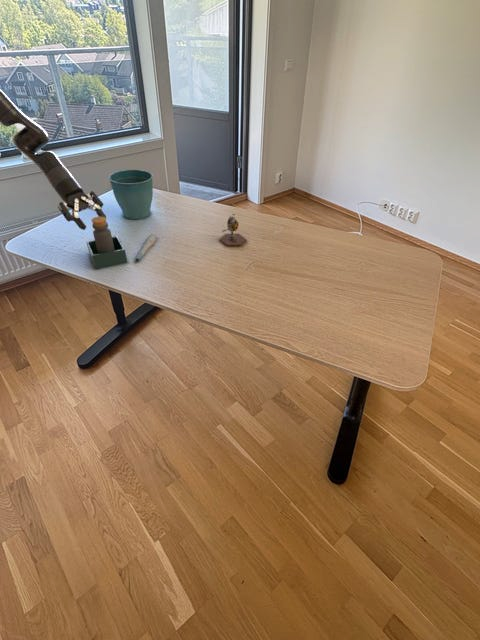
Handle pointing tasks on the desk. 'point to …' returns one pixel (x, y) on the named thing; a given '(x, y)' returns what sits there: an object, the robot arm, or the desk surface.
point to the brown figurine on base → (232, 238)
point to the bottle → (102, 235)
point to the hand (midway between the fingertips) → (95, 224)
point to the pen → (146, 245)
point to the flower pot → (133, 192)
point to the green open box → (107, 254)
